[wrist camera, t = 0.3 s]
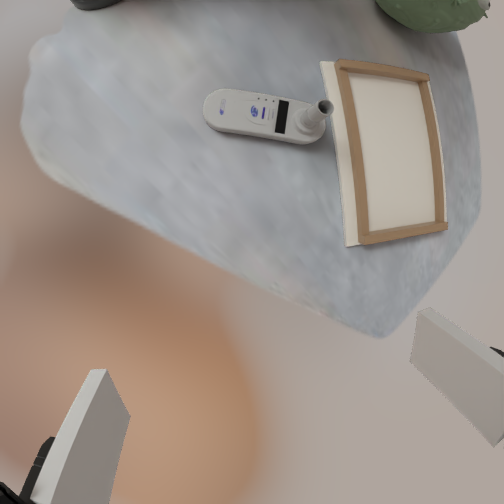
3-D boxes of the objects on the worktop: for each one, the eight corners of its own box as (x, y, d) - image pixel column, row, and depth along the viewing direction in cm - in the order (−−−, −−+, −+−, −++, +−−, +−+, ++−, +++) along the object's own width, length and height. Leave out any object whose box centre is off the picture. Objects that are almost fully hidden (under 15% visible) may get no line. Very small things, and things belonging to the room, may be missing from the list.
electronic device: (202, 61, 22) (352, 91, 24) (208, 92, 31) (321, 111, 33) (192, 110, 23) (347, 138, 25) (201, 130, 32) (317, 149, 34)
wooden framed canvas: (319, 63, 31) (326, 55, 28) (424, 77, 33) (434, 73, 30) (344, 245, 38) (353, 250, 35) (443, 227, 39) (454, 230, 37)
